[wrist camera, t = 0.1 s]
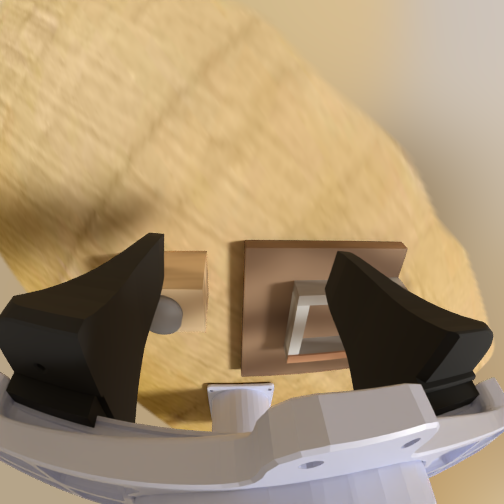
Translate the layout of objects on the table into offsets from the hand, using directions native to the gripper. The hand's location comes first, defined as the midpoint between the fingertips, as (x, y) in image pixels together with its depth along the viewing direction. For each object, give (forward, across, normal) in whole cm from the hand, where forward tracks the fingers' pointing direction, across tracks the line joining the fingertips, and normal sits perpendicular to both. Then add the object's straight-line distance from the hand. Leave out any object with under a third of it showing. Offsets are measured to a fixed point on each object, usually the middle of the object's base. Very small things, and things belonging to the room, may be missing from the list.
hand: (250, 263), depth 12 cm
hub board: (+10, -9, +11) cm, 18 cm away
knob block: (+10, +5, +8) cm, 14 cm away
